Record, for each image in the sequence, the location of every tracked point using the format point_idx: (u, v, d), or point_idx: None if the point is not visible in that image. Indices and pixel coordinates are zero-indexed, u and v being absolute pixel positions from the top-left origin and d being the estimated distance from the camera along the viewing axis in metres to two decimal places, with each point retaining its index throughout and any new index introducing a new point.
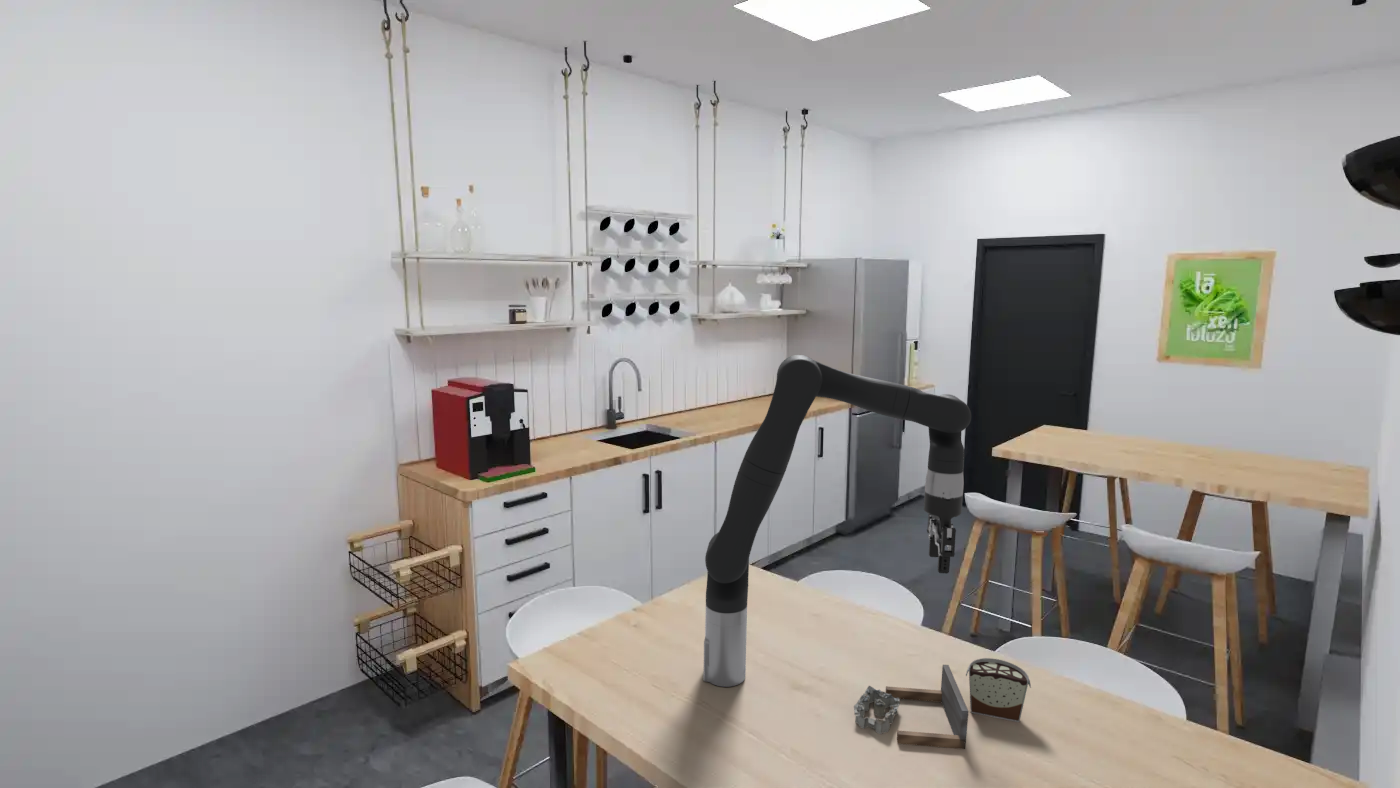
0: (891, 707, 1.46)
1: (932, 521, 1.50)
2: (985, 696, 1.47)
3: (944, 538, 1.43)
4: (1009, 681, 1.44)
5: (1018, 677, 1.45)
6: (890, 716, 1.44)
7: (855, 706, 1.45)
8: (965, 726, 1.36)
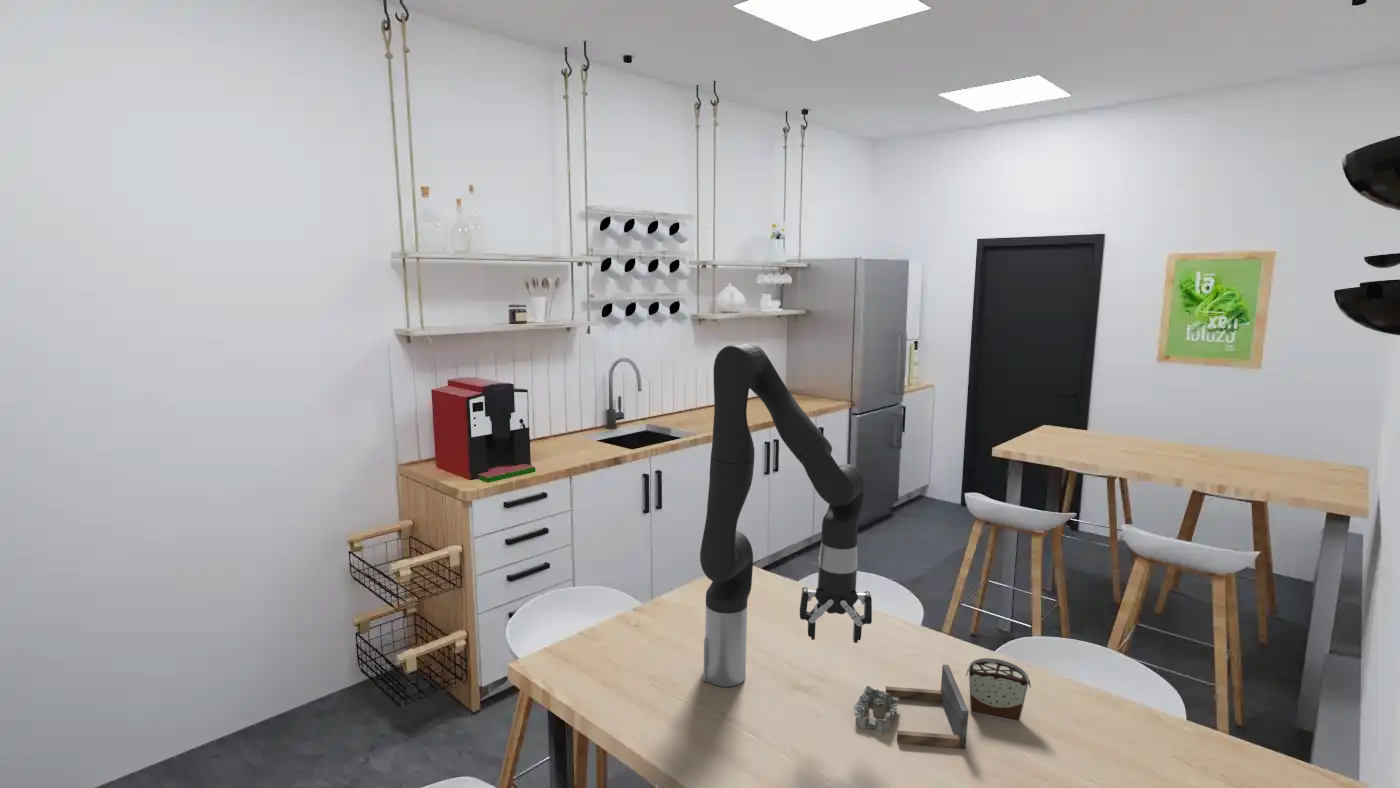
0: (890, 706, 1.46)
1: (833, 601, 1.42)
2: (985, 696, 1.46)
3: (871, 605, 1.42)
4: (1010, 681, 1.44)
5: (1018, 677, 1.45)
6: (890, 716, 1.44)
7: (855, 707, 1.45)
8: (965, 726, 1.36)
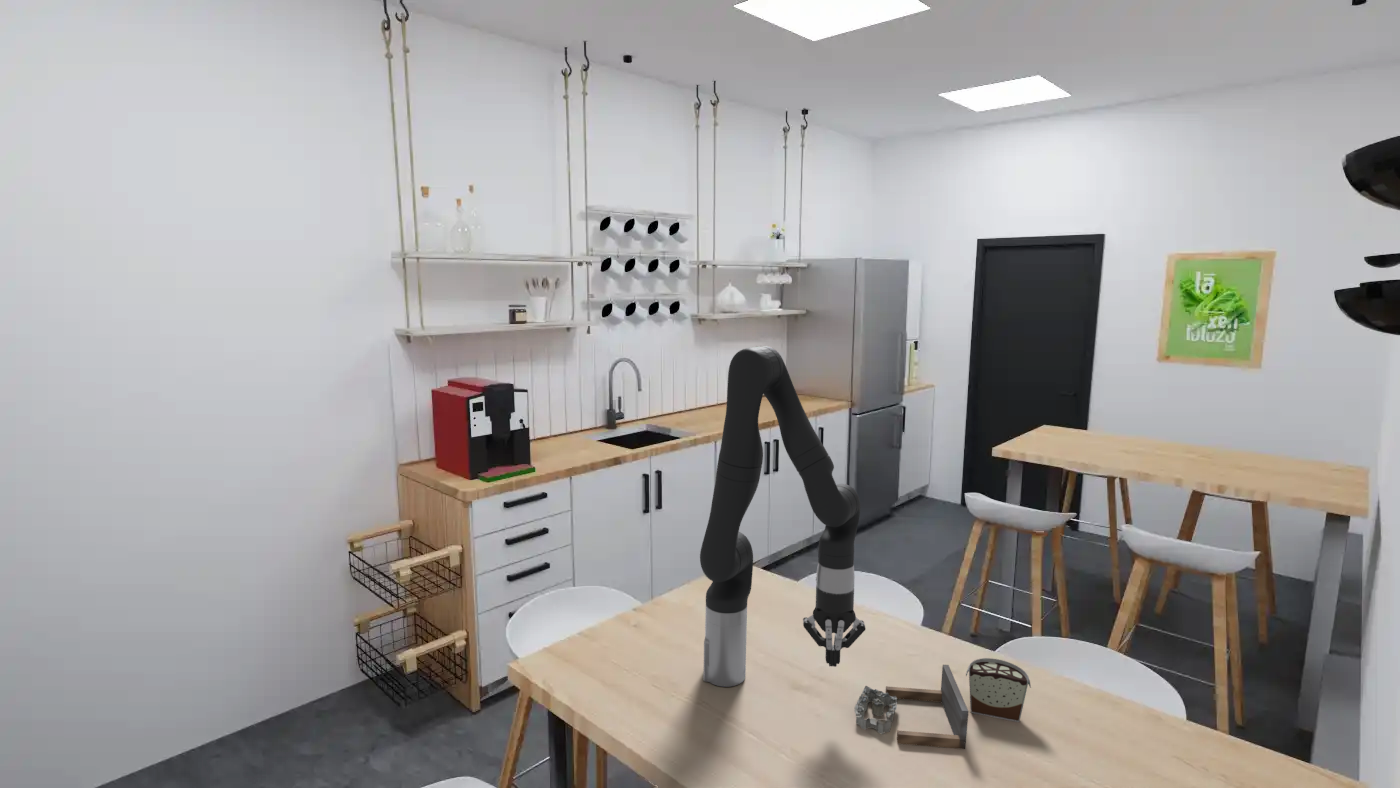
0: (890, 706, 1.46)
1: (830, 619, 1.42)
2: (985, 696, 1.47)
3: None
4: (1009, 681, 1.44)
5: (1018, 677, 1.45)
6: (890, 715, 1.44)
7: (855, 707, 1.44)
8: (965, 726, 1.36)
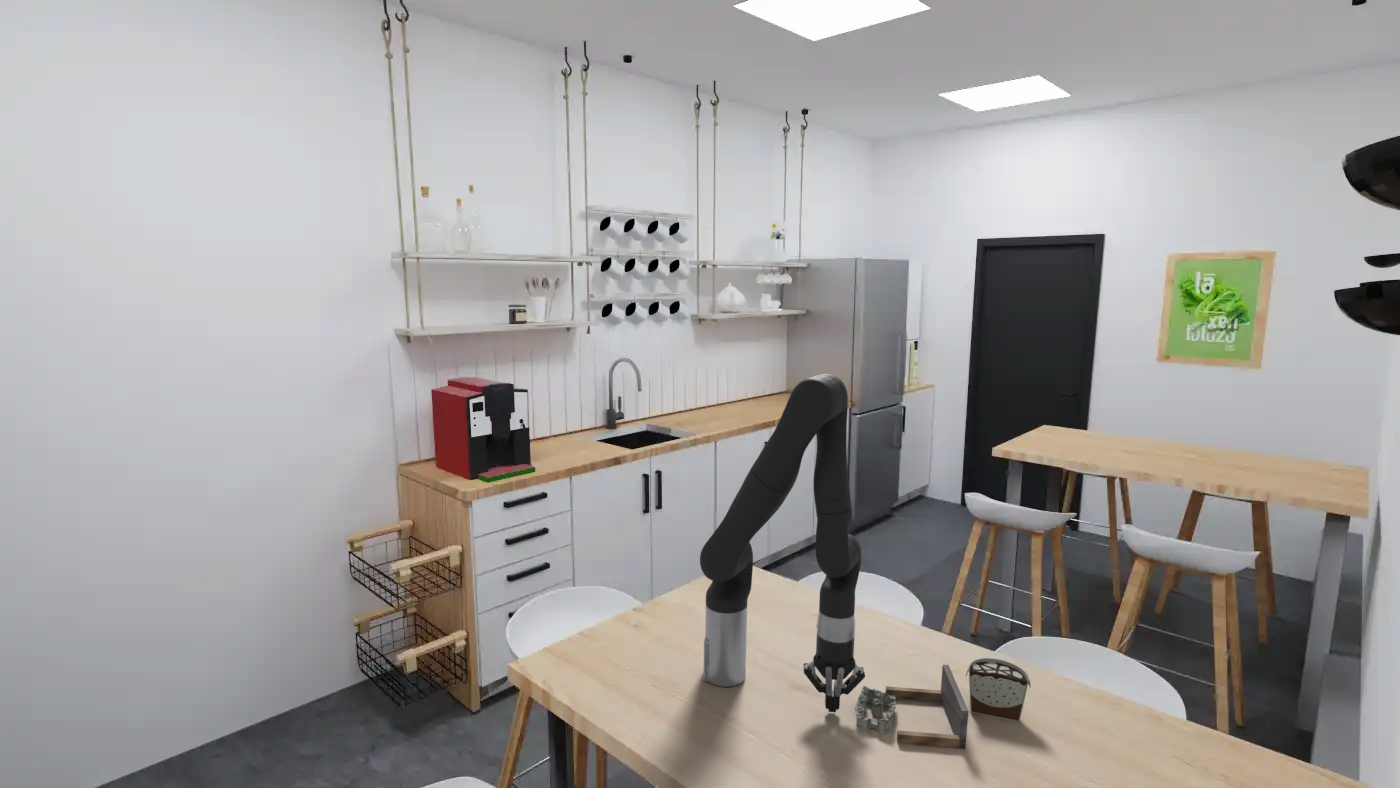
0: (889, 705, 1.46)
1: (830, 666, 1.43)
2: (985, 696, 1.47)
3: None
4: (1009, 681, 1.44)
5: (1018, 677, 1.45)
6: None
7: (856, 708, 1.44)
8: (965, 726, 1.36)
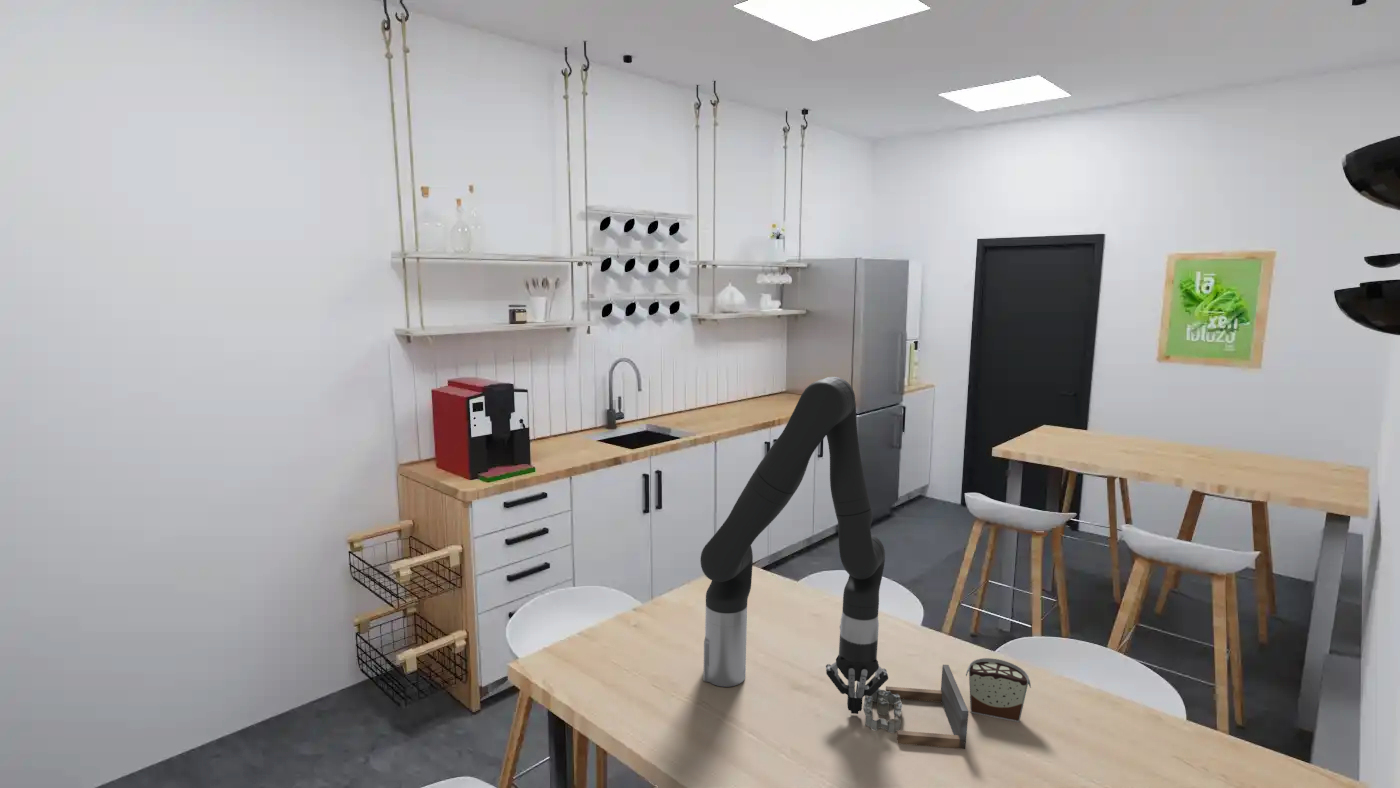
0: (895, 704, 1.47)
1: (853, 668, 1.43)
2: (985, 696, 1.47)
3: None
4: (1009, 681, 1.44)
5: (1018, 677, 1.45)
6: None
7: (864, 709, 1.44)
8: (965, 726, 1.36)
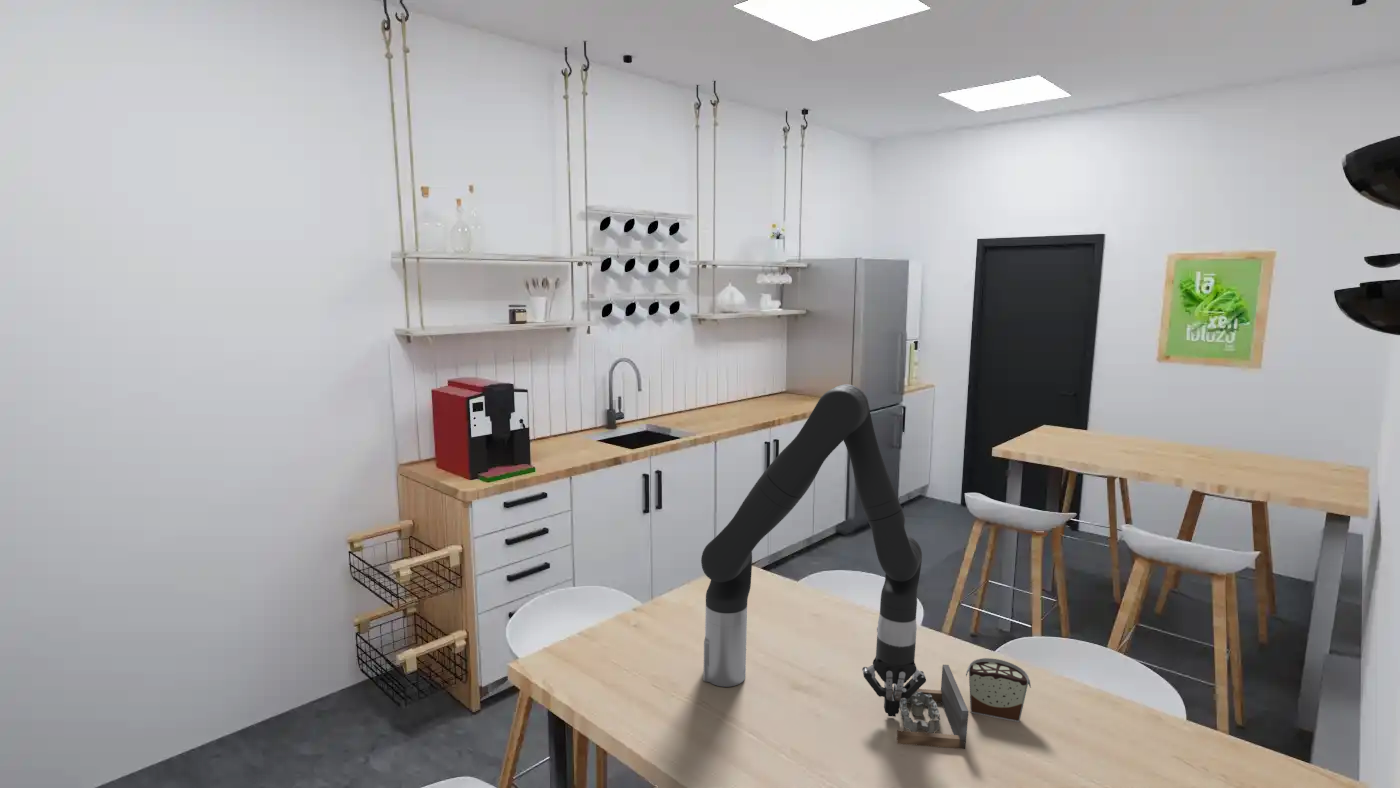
0: (930, 704, 1.47)
1: (891, 670, 1.42)
2: (985, 696, 1.47)
3: None
4: (1009, 681, 1.44)
5: (1018, 677, 1.45)
6: None
7: (902, 712, 1.43)
8: (965, 726, 1.36)
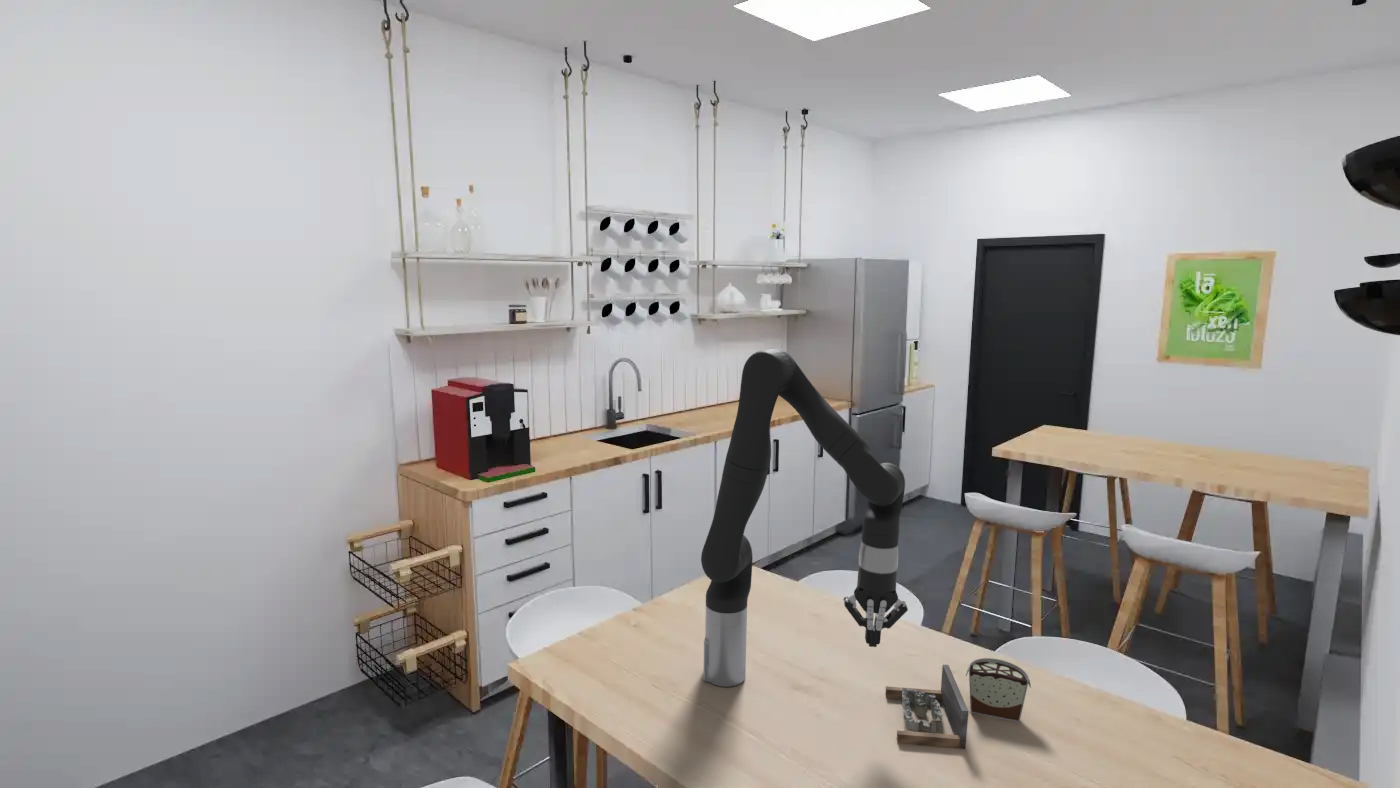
0: (933, 705, 1.47)
1: (872, 599, 1.40)
2: (985, 696, 1.47)
3: None
4: (1009, 681, 1.44)
5: (1018, 677, 1.45)
6: None
7: (904, 711, 1.43)
8: (965, 726, 1.36)
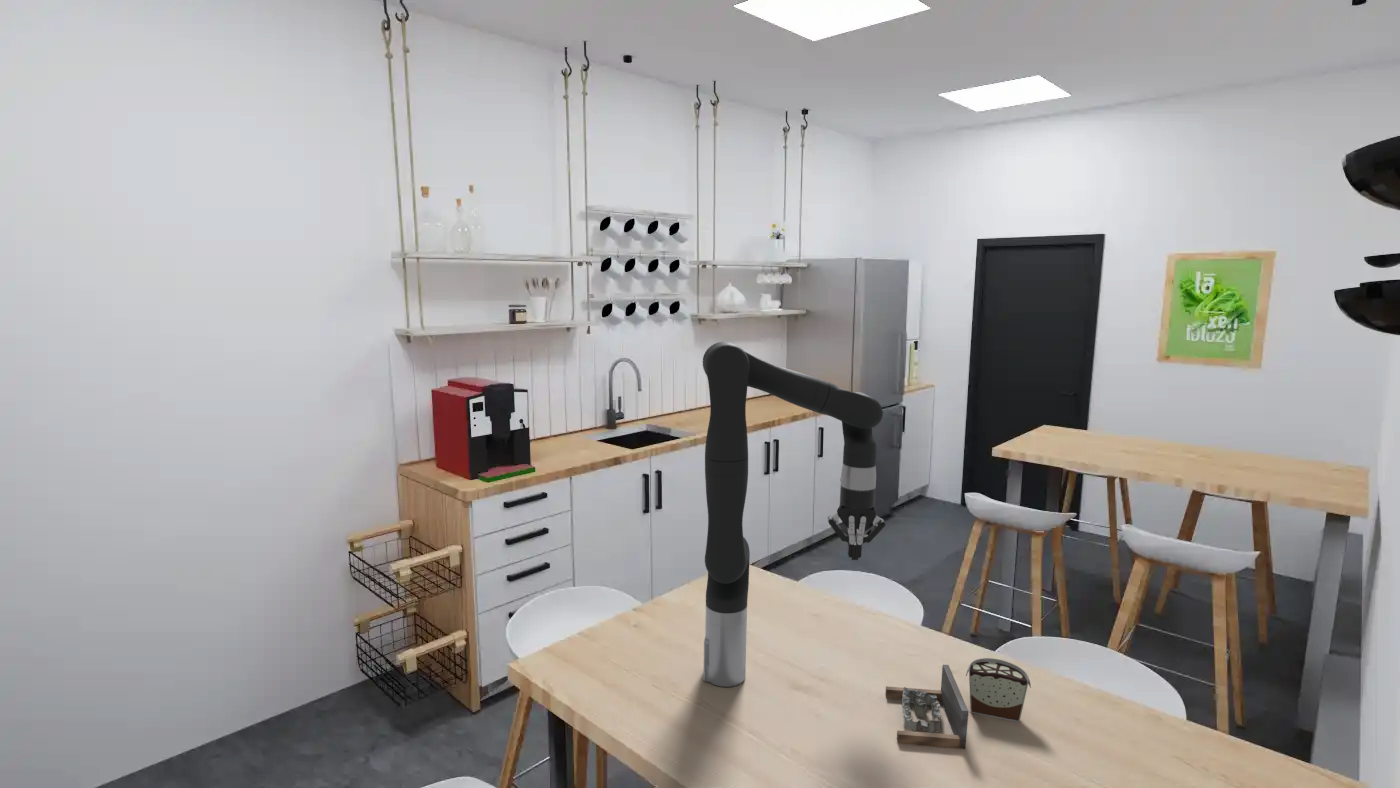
0: (933, 705, 1.46)
1: (853, 515, 1.55)
2: (985, 696, 1.47)
3: (880, 530, 1.56)
4: (1010, 681, 1.44)
5: (1018, 677, 1.45)
6: None
7: (903, 710, 1.44)
8: (965, 726, 1.36)
